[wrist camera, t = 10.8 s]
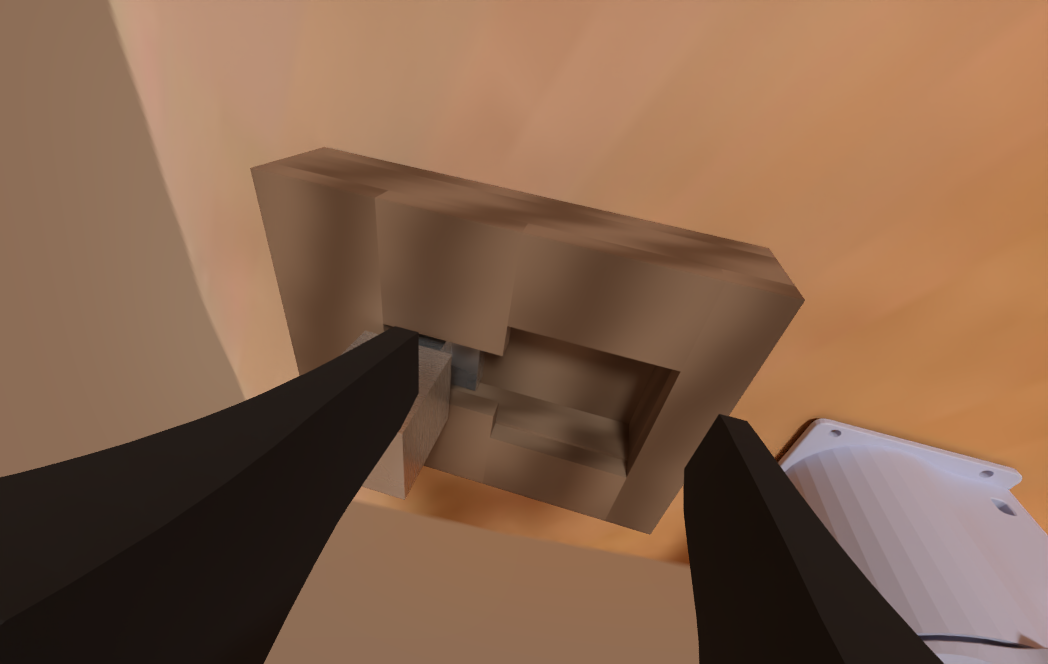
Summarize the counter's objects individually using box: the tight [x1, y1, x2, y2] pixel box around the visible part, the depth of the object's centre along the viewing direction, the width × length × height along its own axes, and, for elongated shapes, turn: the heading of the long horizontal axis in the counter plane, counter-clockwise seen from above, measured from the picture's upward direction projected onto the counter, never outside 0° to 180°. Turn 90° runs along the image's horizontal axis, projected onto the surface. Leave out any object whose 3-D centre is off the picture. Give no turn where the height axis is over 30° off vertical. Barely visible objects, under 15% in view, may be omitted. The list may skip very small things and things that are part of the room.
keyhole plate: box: [250, 147, 805, 534], centre depth 20 cm, size 20×15×4 cm
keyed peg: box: [341, 331, 485, 500], centre depth 18 cm, size 5×5×8 cm
